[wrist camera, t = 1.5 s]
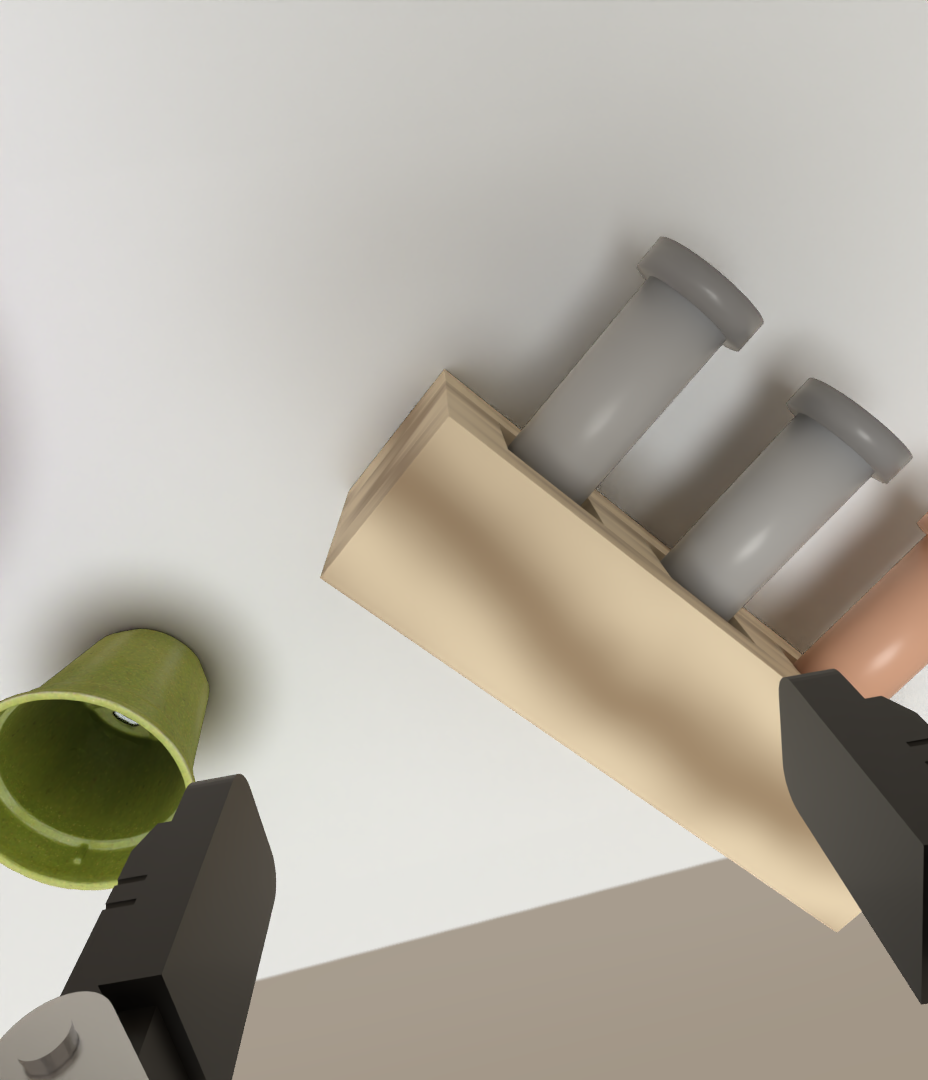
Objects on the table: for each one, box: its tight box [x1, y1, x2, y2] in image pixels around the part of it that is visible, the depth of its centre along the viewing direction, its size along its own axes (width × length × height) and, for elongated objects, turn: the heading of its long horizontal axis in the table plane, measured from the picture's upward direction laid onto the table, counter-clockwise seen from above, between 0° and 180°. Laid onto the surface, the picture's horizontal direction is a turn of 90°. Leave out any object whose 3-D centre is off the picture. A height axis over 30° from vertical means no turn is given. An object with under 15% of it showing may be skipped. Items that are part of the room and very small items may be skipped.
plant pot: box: [0, 629, 209, 890], centre depth 36 cm, size 9×9×9 cm
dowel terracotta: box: [793, 512, 928, 699], centre depth 34 cm, size 11×5×5 cm, turn 141°
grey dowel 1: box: [507, 237, 764, 506], centre depth 30 cm, size 11×5×5 cm, turn 141°
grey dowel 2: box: [660, 378, 912, 622], centre depth 32 cm, size 11×5×5 cm, turn 141°
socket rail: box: [320, 369, 862, 932], centre depth 34 cm, size 7×26×10 cm, turn 51°
